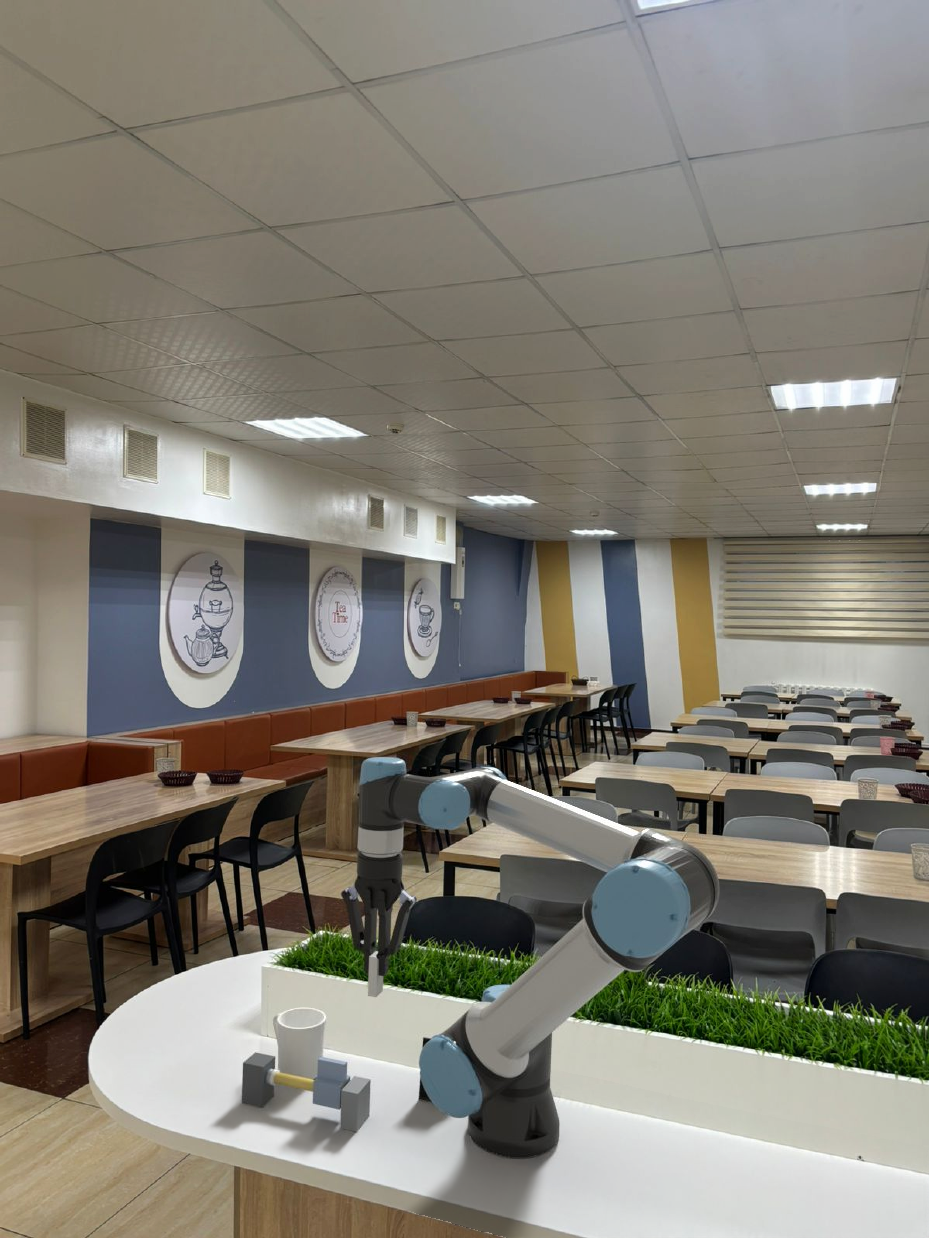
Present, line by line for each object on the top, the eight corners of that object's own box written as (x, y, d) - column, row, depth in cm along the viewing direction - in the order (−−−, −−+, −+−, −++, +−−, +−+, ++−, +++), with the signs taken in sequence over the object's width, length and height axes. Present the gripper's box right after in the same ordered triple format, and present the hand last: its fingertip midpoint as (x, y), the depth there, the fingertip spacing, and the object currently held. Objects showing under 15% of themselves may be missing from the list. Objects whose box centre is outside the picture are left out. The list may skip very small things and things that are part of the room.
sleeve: (349, 1098, 151) (350, 1058, 151) (339, 1109, 148) (340, 1068, 148) (323, 1092, 153) (324, 1052, 153) (312, 1103, 149) (313, 1062, 149)
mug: (334, 1069, 166) (335, 1014, 166) (304, 1091, 158) (306, 1033, 158) (287, 1054, 171) (289, 1001, 171) (256, 1074, 163) (258, 1018, 163)
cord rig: (369, 1115, 151) (370, 1074, 151) (356, 1131, 146) (358, 1088, 146) (255, 1090, 158) (256, 1050, 158) (239, 1104, 153) (241, 1063, 153)
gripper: (424, 850, 150) (420, 991, 150) (354, 842, 154) (349, 978, 154) (408, 861, 143) (403, 1009, 143) (334, 852, 147) (329, 995, 147)
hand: (375, 993), depth 148 cm, fingers closed
